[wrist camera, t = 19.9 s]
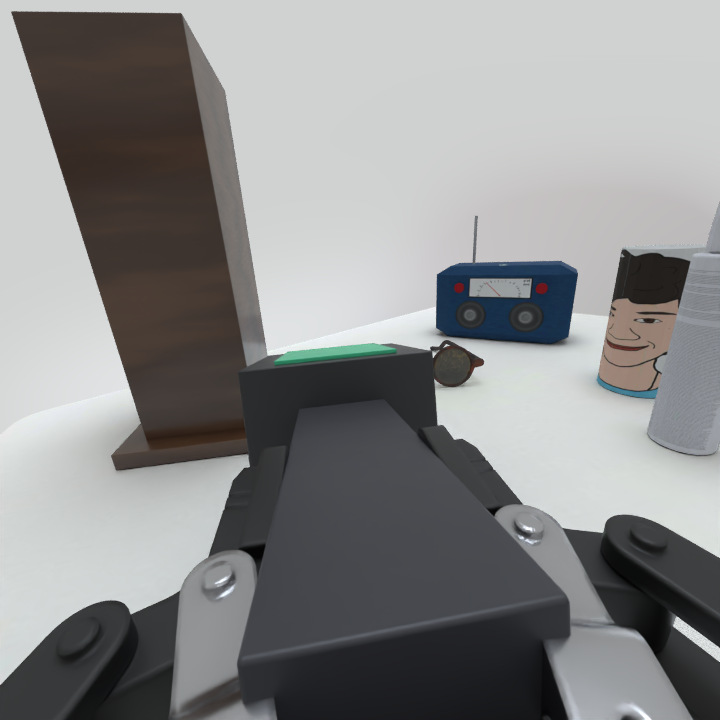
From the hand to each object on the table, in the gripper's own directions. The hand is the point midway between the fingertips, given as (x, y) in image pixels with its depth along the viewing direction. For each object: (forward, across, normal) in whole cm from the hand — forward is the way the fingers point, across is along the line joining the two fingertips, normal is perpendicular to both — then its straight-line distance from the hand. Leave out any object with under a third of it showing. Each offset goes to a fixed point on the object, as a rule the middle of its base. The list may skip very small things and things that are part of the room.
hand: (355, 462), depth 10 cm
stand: (+27, +12, +11) cm, 31 cm away
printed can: (+22, -34, +11) cm, 42 cm away
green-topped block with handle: (+3, 0, +3) cm, 5 cm away
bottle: (+12, -28, +11) cm, 33 cm away
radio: (+46, -31, +11) cm, 56 cm away
